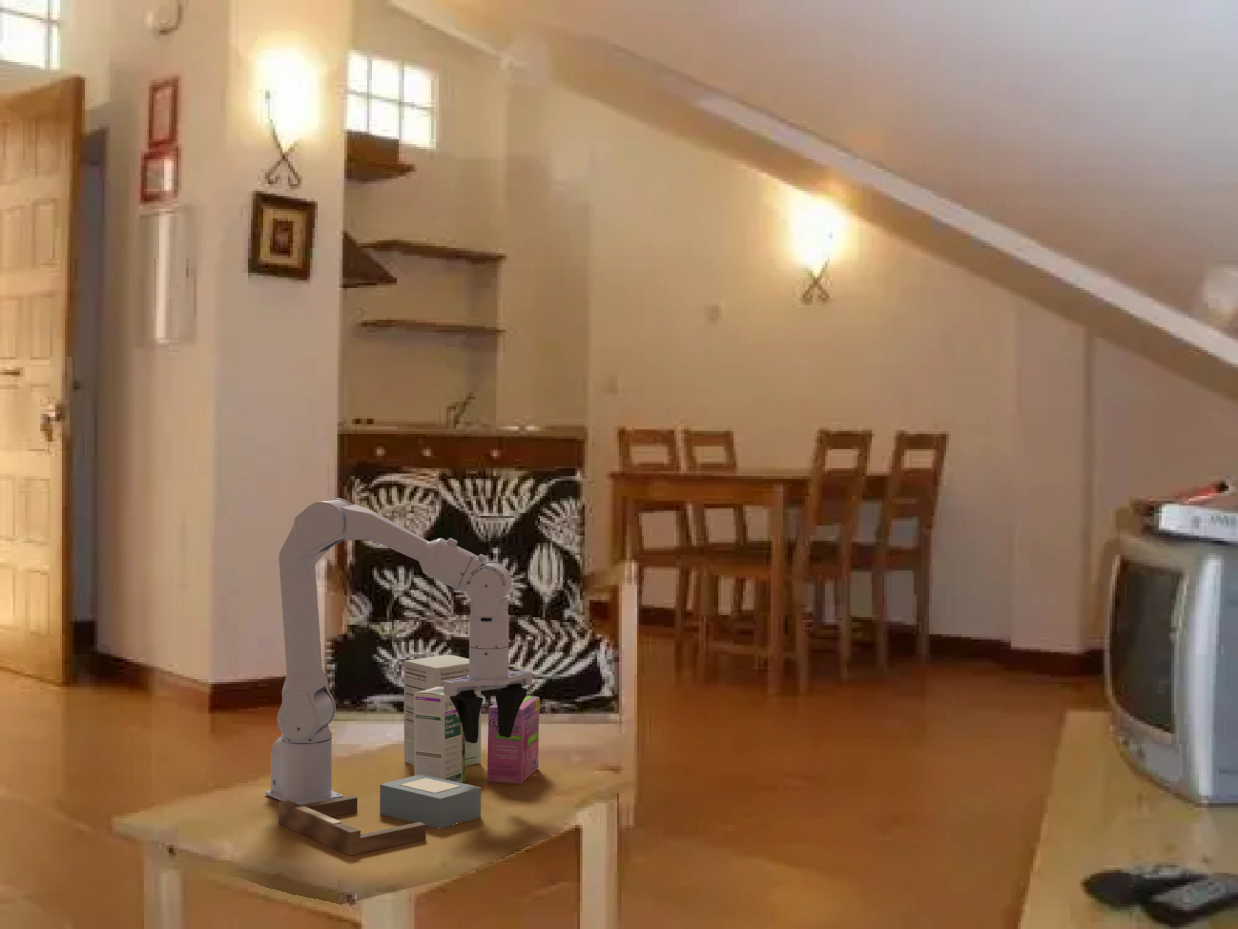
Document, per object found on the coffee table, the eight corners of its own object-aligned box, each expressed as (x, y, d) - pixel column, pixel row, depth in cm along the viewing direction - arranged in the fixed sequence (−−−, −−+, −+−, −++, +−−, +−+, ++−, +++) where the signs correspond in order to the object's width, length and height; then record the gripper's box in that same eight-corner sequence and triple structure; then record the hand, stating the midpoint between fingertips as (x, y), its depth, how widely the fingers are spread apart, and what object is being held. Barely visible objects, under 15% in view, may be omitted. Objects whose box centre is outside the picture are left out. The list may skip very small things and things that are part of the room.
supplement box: (449, 753, 239) (450, 653, 239) (482, 763, 233) (483, 660, 232) (401, 762, 233) (402, 659, 232) (434, 772, 226) (435, 667, 226)
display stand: (278, 823, 196) (278, 800, 196) (351, 809, 204) (352, 787, 204) (350, 856, 182) (350, 831, 182) (425, 839, 190) (426, 815, 190)
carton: (379, 816, 202) (380, 783, 202) (420, 804, 208) (421, 773, 208) (440, 831, 195) (440, 798, 194) (480, 819, 201) (480, 786, 201)
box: (522, 785, 219) (522, 708, 219) (486, 782, 220) (487, 706, 220) (539, 769, 229) (540, 696, 229) (505, 767, 230) (505, 694, 230)
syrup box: (443, 790, 215) (444, 694, 215) (412, 785, 218) (413, 690, 218) (465, 782, 220) (466, 688, 220) (434, 777, 223) (435, 685, 223)
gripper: (463, 654, 200) (463, 751, 200) (545, 645, 209) (544, 737, 210) (435, 648, 205) (434, 742, 205) (516, 639, 214) (515, 729, 215)
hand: (488, 739), depth 208 cm, fingers open, 5 cm apart
